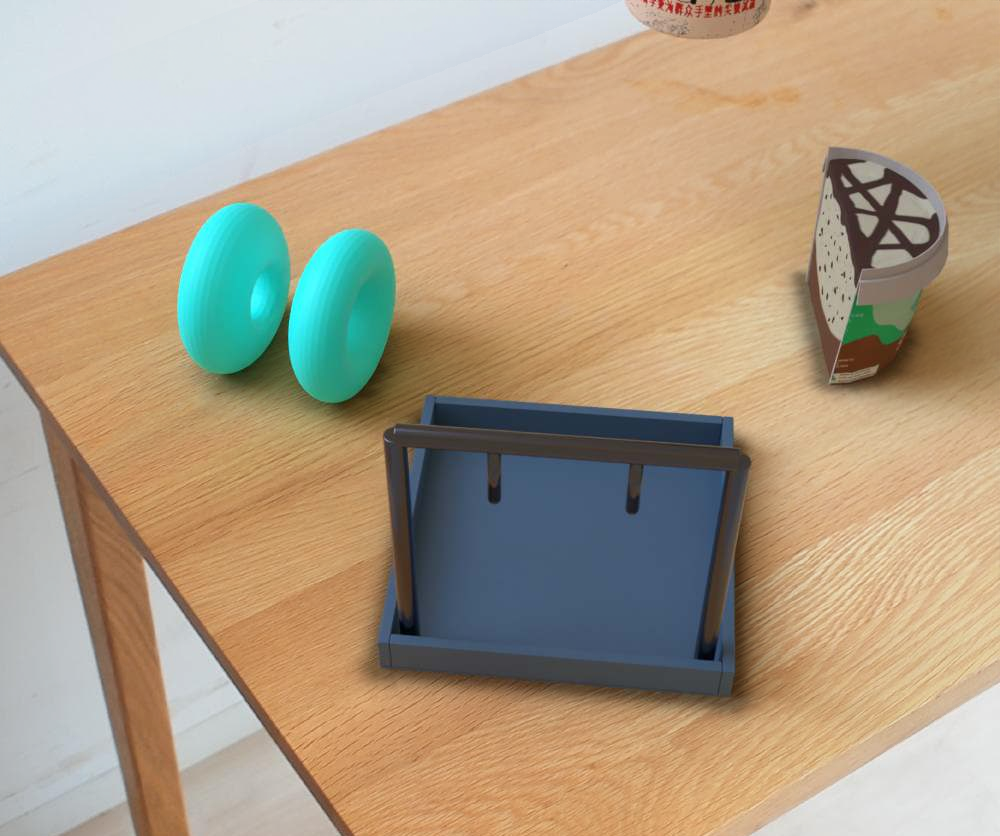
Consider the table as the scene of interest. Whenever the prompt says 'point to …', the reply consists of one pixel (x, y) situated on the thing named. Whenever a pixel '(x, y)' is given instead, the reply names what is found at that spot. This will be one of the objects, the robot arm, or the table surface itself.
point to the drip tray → (564, 556)
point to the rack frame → (572, 449)
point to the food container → (871, 258)
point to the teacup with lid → (699, 16)
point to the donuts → (263, 297)
